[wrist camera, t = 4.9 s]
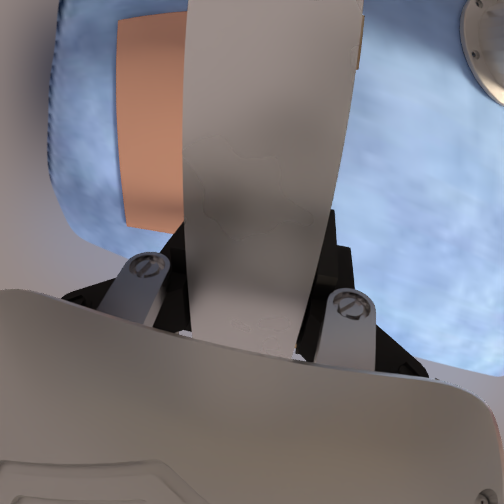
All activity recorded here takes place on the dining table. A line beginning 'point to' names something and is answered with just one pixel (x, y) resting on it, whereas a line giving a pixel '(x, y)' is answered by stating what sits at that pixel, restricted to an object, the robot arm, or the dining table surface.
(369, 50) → the dining table surface
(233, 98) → the steel bar
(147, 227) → the terracotta mat
